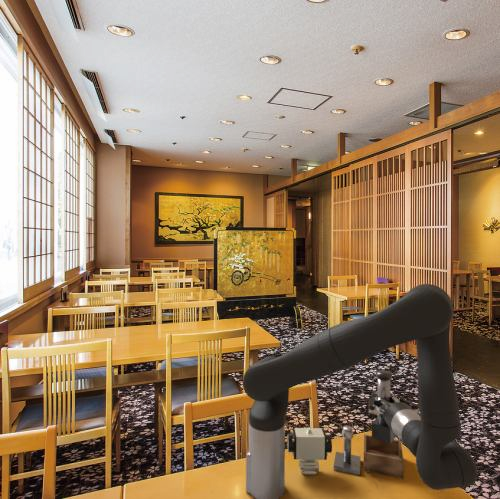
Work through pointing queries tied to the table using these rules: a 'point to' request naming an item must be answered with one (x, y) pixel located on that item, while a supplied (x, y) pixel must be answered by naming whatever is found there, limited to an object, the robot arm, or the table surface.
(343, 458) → the stud mount
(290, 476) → the table surface
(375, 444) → the bin
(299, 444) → the pneumatic rotary actuator
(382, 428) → the strut
